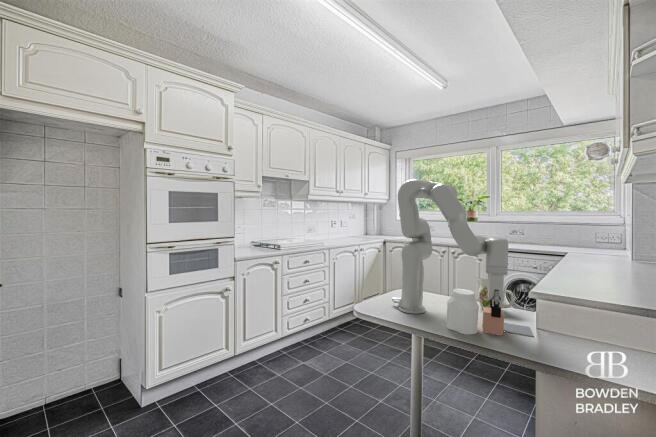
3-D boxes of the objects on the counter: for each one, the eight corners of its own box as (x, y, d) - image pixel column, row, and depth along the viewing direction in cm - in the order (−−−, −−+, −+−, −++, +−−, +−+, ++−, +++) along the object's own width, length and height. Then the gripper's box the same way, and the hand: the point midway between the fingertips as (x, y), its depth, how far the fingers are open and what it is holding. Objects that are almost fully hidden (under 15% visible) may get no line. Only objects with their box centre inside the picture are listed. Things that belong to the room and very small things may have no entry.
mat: (503, 331, 124) (503, 330, 124) (501, 323, 133) (501, 322, 133) (533, 337, 120) (533, 336, 120) (529, 327, 129) (529, 326, 129)
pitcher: (508, 318, 139) (510, 287, 138) (467, 307, 152) (469, 279, 152) (517, 313, 146) (519, 284, 145) (478, 303, 160) (479, 276, 159)
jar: (441, 326, 128) (443, 290, 127) (453, 321, 134) (455, 286, 133) (469, 336, 119) (472, 297, 118) (481, 330, 125) (483, 293, 124)
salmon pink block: (482, 332, 124) (483, 312, 123) (482, 325, 130) (483, 306, 129) (502, 335, 121) (504, 315, 120) (501, 329, 127) (502, 309, 126)
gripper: (485, 265, 133) (484, 305, 134) (486, 273, 117) (485, 318, 118) (505, 266, 130) (504, 308, 131) (509, 275, 114) (508, 322, 115)
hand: (495, 313), depth 124 cm, fingers open, 9 cm apart
